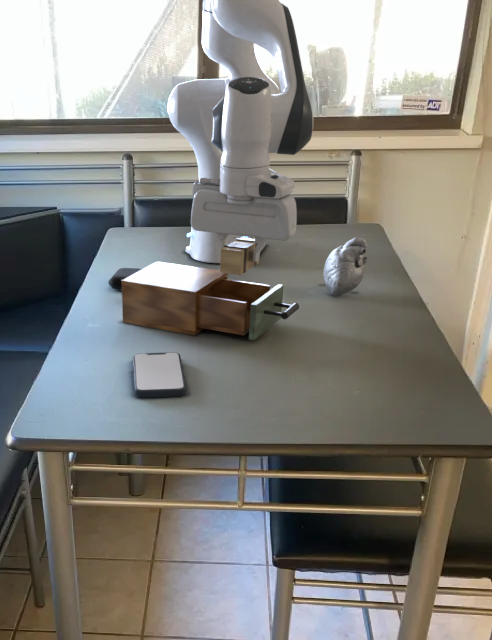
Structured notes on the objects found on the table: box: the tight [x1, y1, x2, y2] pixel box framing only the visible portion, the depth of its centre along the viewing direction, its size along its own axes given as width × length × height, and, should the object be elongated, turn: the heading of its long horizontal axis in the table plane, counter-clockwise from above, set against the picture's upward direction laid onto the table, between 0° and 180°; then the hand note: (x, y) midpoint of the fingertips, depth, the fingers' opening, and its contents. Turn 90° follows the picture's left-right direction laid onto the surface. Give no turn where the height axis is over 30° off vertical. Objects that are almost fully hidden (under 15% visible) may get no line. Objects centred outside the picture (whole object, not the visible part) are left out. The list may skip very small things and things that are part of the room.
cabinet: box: [121, 260, 229, 336], centre depth 167 cm, size 17×15×9 cm
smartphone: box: [132, 351, 187, 399], centre depth 143 cm, size 9×2×16 cm
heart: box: [322, 237, 368, 297], centre depth 176 cm, size 10×10×12 cm
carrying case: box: [108, 267, 143, 291], centre depth 185 cm, size 11×3×15 cm
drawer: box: [197, 278, 300, 341], centre depth 160 cm, size 20×13×7 cm, turn 59°
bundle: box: [219, 237, 261, 276], centre depth 155 cm, size 9×4×5 cm, turn 149°
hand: (240, 259), depth 155 cm, fingers closed on bundle, 4 cm apart
